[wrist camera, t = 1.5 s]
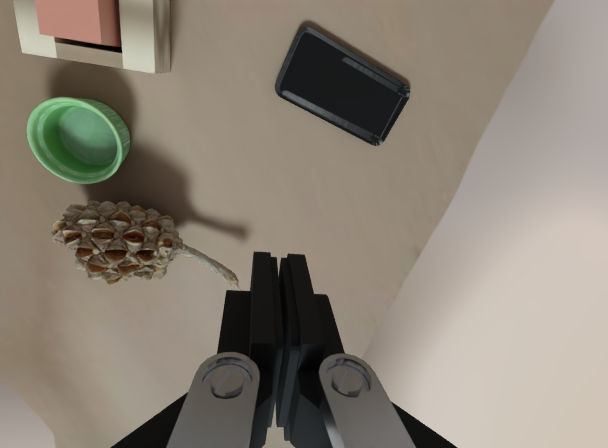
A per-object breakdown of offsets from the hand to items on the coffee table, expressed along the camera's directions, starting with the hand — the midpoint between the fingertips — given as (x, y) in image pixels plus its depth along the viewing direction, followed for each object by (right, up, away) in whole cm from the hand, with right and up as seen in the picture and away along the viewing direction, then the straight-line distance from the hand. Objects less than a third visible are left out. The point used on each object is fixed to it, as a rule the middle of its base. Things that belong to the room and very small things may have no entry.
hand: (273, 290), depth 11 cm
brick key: (-18, +21, +20) cm, 34 cm away
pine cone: (-17, +1, +34) cm, 38 cm away
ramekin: (-23, +13, +27) cm, 38 cm away
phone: (+6, +18, +29) cm, 35 cm away
